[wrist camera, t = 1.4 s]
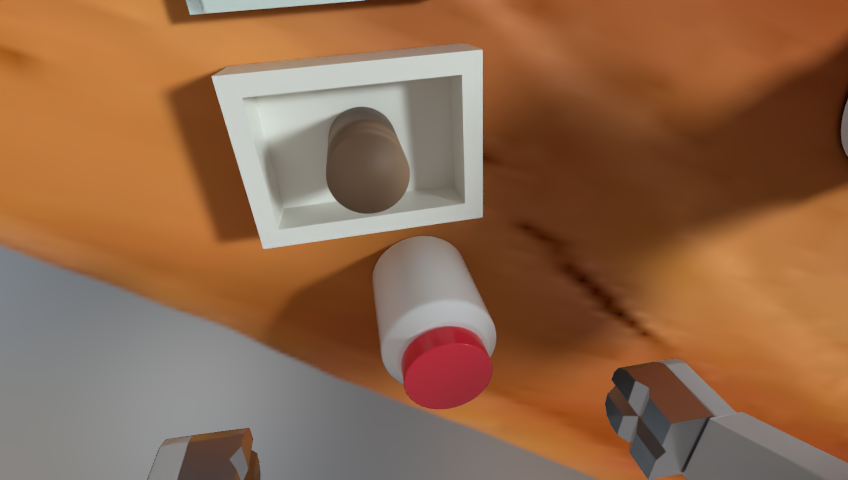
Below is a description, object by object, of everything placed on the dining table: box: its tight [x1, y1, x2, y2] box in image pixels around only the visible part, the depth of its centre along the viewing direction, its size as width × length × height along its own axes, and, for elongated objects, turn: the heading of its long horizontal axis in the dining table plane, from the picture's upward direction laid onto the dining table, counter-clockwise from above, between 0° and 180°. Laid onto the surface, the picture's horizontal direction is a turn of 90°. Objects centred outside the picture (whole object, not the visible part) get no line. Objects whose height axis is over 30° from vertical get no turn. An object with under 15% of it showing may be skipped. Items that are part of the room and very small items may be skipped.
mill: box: [326, 107, 410, 214], centre depth 25 cm, size 4×4×6 cm
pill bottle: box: [372, 236, 496, 409], centre depth 31 cm, size 8×8×11 cm
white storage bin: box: [211, 43, 483, 249], centre depth 27 cm, size 14×10×4 cm
